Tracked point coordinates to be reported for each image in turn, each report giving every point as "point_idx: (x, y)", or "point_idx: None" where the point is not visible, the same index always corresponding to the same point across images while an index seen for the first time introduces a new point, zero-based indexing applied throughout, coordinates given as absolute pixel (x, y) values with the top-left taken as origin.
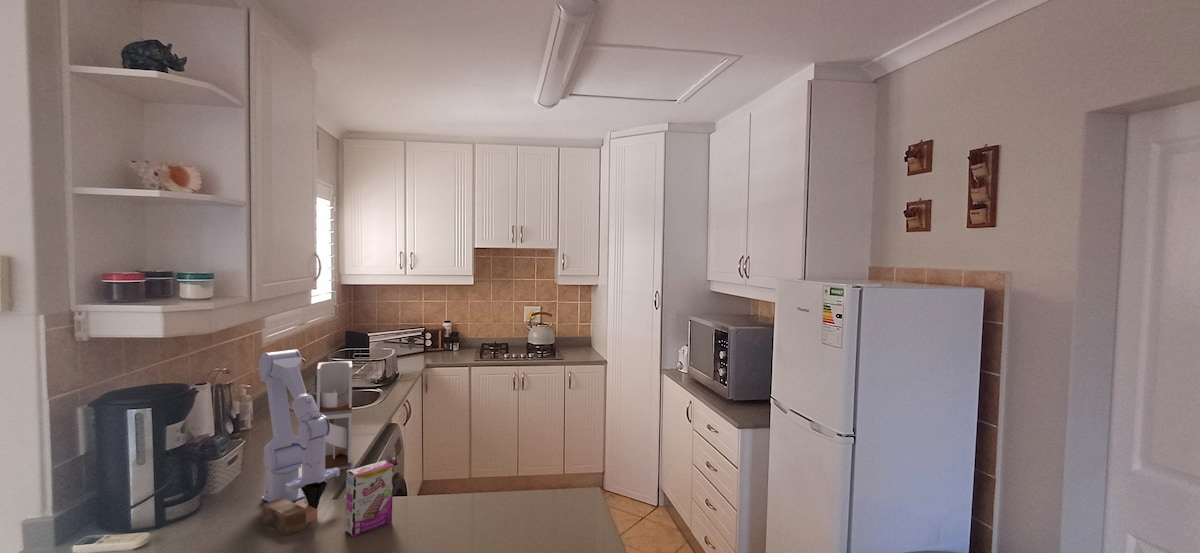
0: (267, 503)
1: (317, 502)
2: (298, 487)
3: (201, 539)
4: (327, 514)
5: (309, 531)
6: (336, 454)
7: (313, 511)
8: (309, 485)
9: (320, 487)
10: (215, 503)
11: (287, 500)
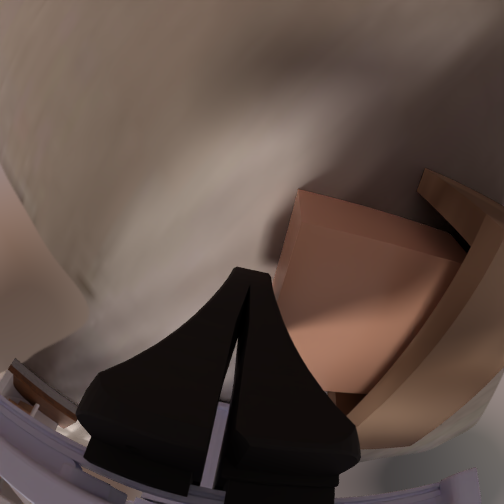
0: (405, 442)
1: (236, 293)
2: (392, 502)
3: (480, 396)
4: (211, 182)
5: (449, 113)
6: (30, 407)
7: (339, 228)
8: (288, 495)
9: (196, 415)
10: None
11: (362, 424)
